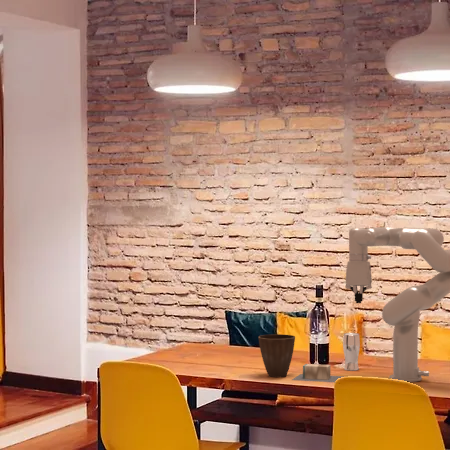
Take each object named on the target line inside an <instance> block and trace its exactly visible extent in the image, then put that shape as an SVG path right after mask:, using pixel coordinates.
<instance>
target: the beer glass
mask: <svg viewBox="0 0 450 450" xmlns="http://www.w3.org/2000/svg"><path fill="white" fill-rule="evenodd" d="M360 338H361V337H360V333H356V332H346V333H343V338H342V340H343V341H342V347H343V354H344V368H343V369H344V371H348V372H349V371H350V372H353V371H354V372H355V371H359V370H360V368H359V362H358V361H359V353H360V348H361V344H360V343H361V342H360V341H361V340H360Z"/></svg>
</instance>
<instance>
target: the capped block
mask: <svg viewBox="0 0 450 450" xmlns="http://www.w3.org/2000/svg"><path fill="white" fill-rule="evenodd" d="M331 373H332V371H331V364H316V363H315V364H314V363H312V364H311V363H305V364H304V365H302V374H303V379H322V380H328V379H329V378H331V376H332V375H331Z"/></svg>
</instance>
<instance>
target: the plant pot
mask: <svg viewBox="0 0 450 450" xmlns="http://www.w3.org/2000/svg"><path fill="white" fill-rule="evenodd" d="M295 340H296V336H295V335H293V334H282V333H281V334H280V333H279V334H263V335H259V336H258V344H259V349H260V354H261V357H262V362H263V364H264V369H265V370H266V374H267V375H268V377H269V378H283V377H284V378H285V377H286V376H287V375H288V372H289V369H290V366H291V363H292V358H293V354H294V348H295V342H296V341H295Z"/></svg>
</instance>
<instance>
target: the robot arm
mask: <svg viewBox="0 0 450 450" xmlns="http://www.w3.org/2000/svg"><path fill="white" fill-rule="evenodd" d="M444 237H445V236H444V234H443V233H442V232H441V231H440V230H439V229H436V228H430V227H406V226H405V227H384V226H381V227H380V226H379V227H378V226H377V227H367V228H364V227H352V228H350V229H349V231H348V259H349V260H348V261H347V262H346V264H347V265H346V268H345V269H346V271H345V289H348V290H350V291H352V292H353V293H354V302H355V304H361V303H362V302H363V297H364V296H363V294H364V292H365V291H366V290H371V289H372V287H373V285H372V283H373V282H372V281H373V279H372V278H373V277H372V267H371V261H369V260H371V259H372V255H370V254H369V252H368V250H369V248H368V247H384V246H389V247H401V248H402V249H403V250H415V251H417V253H418V254H419V255H420V256H421V257H422V258H423V260H424V261H425V262H426V263H427V264H428V265H429V266H430V267H431V268H432V270H434V271H435V272H437V273H438V274H436V275H434V276H432V278H431V279H429V280H428V281H426V282H425V283H422V284H420V285H413V286H410V287H407V288H406V289H404V290H403V291H401V292H400V293H399V294H397V295H396V296H394V297H393V298H392V299H391V300H389V301H388V302H387V303H386V304H385V305H384V306H383V309H382V312H381V316H382V319H383V321H384V322H385V323H386V324H387V325H389V326H392V327H394V328H393V335H392V339H393V340H392V343H393V344H392V350H393V351H392V352H393V353H392V355H393V356H392V357H393V359H392V361H393V362H392V363H393V365H392V366H393V367H392V371H393V372H392V374H391V375H389V377H388V378H392V379H398V380H404V381H409V382H408V383H414V382H420V381H422V379H423V377H429V376H430V371H429V370H428V371H427V370H421V369H420V367H419V365H418V362H419V359H418V357H419V355H418V354H419V352H418V351H419V350H418V349H419V347H418V346H419V345H418V344H419V343H418V341H419V337H418V336H419V333H418V332H419V324H420V323H419V322H420V317H421V313H420V312H421V311H423V310H428V309H430V308H432V307H434V305H436V304H437V303H439V302H440V301H441V300H443V299H444V298H445V297H446V296H447V295H449V294H450V249H444V248H443V247H442V246H443V245H444V241H445V239H444ZM358 287H359V289H358Z"/></svg>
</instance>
